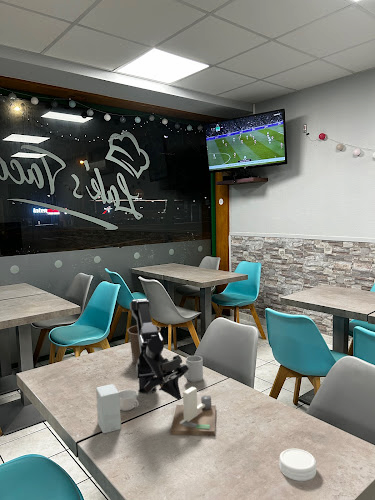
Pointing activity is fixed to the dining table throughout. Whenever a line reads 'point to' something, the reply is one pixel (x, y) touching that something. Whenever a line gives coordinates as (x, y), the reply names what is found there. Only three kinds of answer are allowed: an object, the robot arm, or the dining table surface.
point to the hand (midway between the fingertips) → (180, 399)
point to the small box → (108, 408)
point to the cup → (194, 368)
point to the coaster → (297, 464)
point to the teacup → (128, 399)
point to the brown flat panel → (194, 422)
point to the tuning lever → (193, 404)
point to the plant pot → (136, 342)
